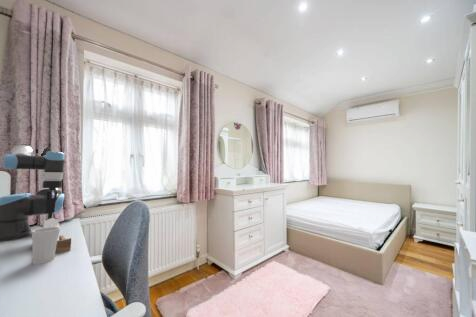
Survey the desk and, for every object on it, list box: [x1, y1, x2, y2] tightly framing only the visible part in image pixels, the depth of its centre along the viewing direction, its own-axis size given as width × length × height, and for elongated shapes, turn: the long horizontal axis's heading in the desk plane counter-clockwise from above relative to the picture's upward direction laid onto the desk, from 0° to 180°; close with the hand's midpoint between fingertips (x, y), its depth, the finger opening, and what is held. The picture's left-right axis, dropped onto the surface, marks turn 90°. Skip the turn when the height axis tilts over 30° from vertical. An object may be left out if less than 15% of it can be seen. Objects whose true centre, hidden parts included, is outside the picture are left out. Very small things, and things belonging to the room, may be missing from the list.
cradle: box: [55, 234, 72, 255], centre depth 91 cm, size 22×10×5 cm, turn 50°
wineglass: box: [42, 217, 60, 228], centre depth 96 cm, size 6×6×12 cm
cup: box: [31, 226, 61, 265], centre depth 77 cm, size 8×8×12 cm
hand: (48, 225), depth 101 cm, fingers closed
